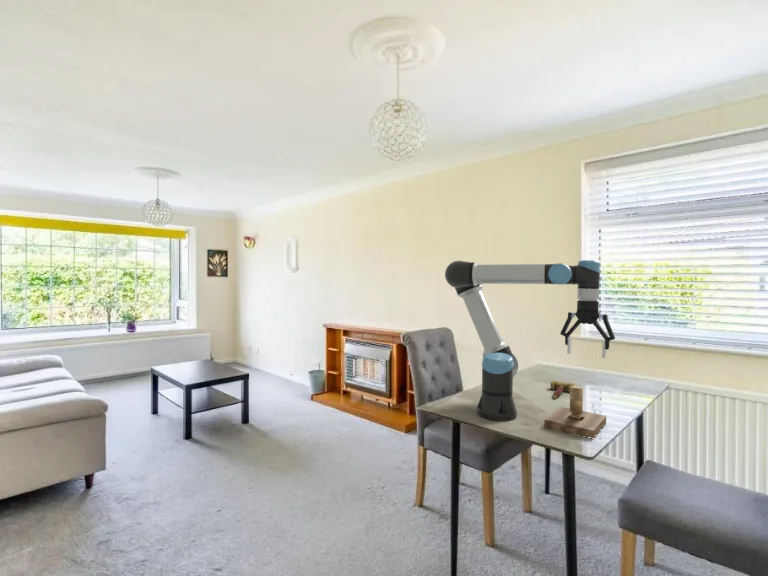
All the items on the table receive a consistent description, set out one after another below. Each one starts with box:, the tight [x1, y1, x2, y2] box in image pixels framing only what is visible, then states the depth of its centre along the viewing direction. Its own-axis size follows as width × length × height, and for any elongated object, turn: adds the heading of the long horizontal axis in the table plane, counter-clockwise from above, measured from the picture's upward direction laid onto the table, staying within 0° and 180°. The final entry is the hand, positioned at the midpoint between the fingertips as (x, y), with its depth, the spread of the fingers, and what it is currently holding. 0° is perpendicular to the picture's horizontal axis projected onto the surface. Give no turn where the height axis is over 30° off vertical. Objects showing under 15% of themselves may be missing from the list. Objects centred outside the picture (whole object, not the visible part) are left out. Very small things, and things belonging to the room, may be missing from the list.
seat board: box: [543, 406, 607, 439], centre depth 146 cm, size 16×20×3 cm
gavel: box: [549, 380, 575, 400], centre depth 188 cm, size 21×5×10 cm
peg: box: [569, 385, 584, 421], centre depth 146 cm, size 4×4×14 cm
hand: (586, 355), depth 156 cm, fingers open, 12 cm apart
